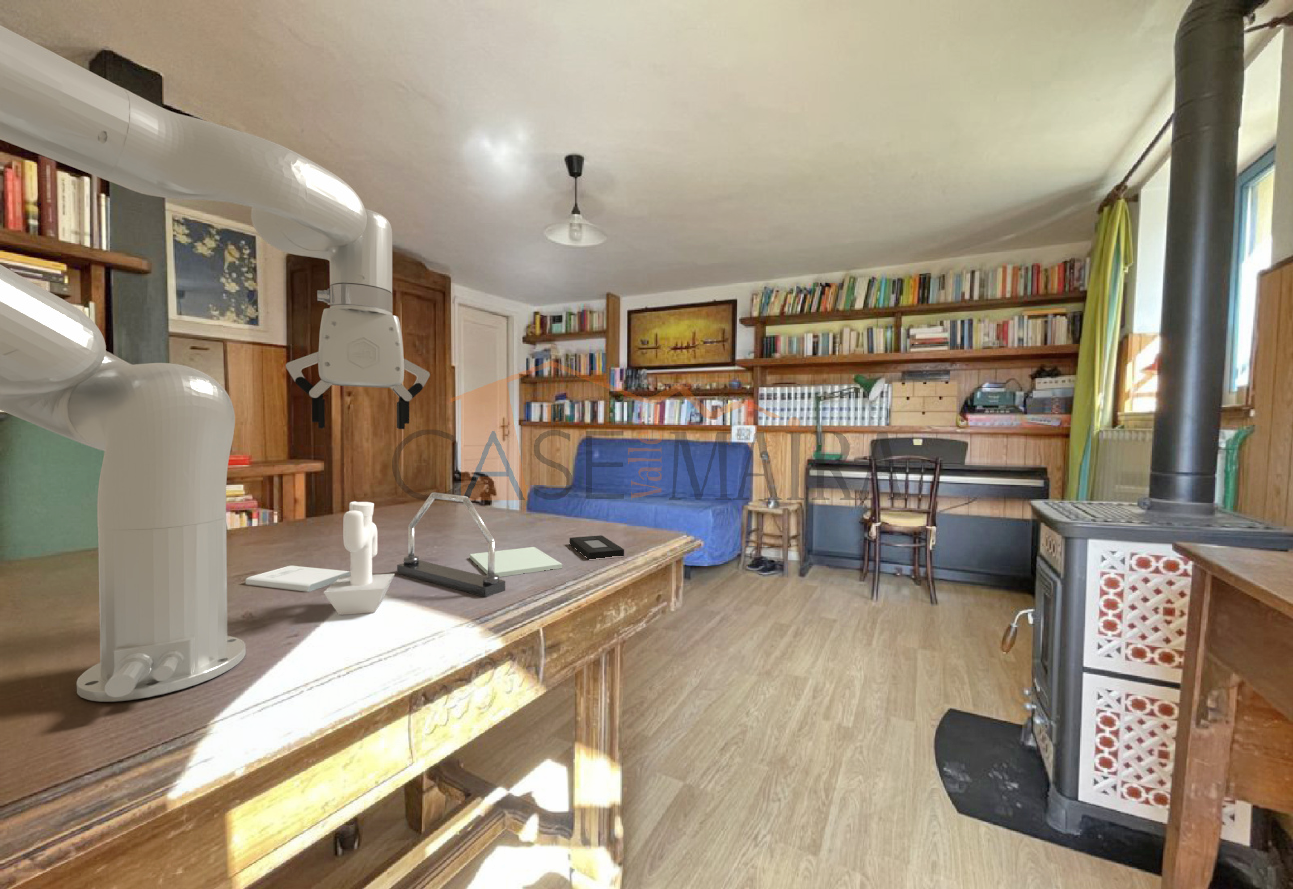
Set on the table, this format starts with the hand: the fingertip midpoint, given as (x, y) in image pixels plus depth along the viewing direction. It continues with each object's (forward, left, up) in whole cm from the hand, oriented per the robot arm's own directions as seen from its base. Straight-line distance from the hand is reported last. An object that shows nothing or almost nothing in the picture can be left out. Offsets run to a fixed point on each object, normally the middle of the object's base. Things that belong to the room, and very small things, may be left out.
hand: (362, 428), depth 71 cm
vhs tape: (+15, -44, -26) cm, 53 cm away
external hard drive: (+19, +8, -26) cm, 33 cm away
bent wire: (+7, -13, -25) cm, 29 cm away
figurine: (0, 0, -25) cm, 25 cm away
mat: (+13, -26, -25) cm, 38 cm away
